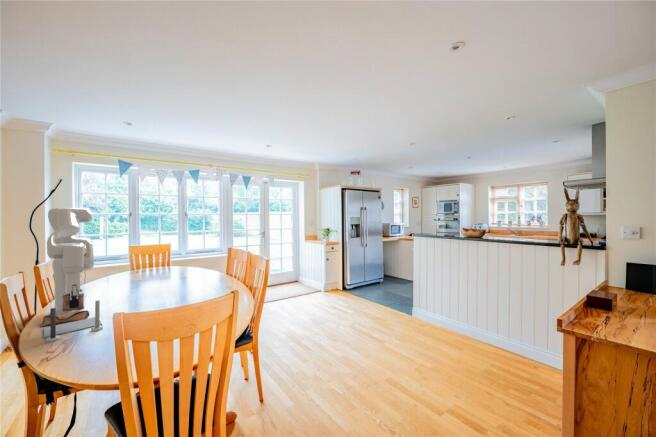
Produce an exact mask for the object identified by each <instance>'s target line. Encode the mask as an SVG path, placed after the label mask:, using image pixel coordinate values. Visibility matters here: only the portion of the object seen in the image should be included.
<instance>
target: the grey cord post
mask: <svg viewBox="0 0 656 437" xmlns="http://www.w3.org/2000/svg"><path fill="white" fill-rule="evenodd" d="M94 303H95V304H94V305H95V306H94V308H95V311H94V312H95V313H94V317H95V327H92V328H90V330H91V332H93V331H94V332H99V330H100V331H102V330H103V329H104V325H100V326H99V320H100V315H101V314H100V313H101V312H100V311H101V309H100V308H101V307H100V305H101V301H100V300H95V302H94Z"/></svg>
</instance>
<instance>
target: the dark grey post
mask: <svg viewBox="0 0 656 437" xmlns="http://www.w3.org/2000/svg"><path fill="white" fill-rule="evenodd" d="M49 315H50V326H49V327H50V337H48V338H45V343H53V342H57V341H59V340H60V339H61V335H56V308H55V307H52V308H50V313H49Z"/></svg>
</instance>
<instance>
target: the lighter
mask: <svg viewBox="0 0 656 437" xmlns="http://www.w3.org/2000/svg"><path fill="white" fill-rule="evenodd" d="M78 291H79V290H78ZM72 293H73V292H71V294H72ZM84 296H85V293H83V289H82V288H80V292H79V293H78V307H76V308H69V300H70V293H69V295H67V294H66V295H63V296H62V298H63V309H62V311H63V312H65V311H75V310H79V311H83V310H84V309H85V306H84V304H85V303H84V301H85V300H84V299H85V298H84Z"/></svg>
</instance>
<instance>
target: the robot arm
mask: <svg viewBox="0 0 656 437" xmlns="http://www.w3.org/2000/svg"><path fill="white" fill-rule="evenodd" d="M47 218H48V222H49V225H50V226H51V228H52V230H53V232H52V233H51V234H50V235H49V236H48V238H47V241H46V253H47V257H48V258H50V259H52V264H51V265H52V271H53V276H54V278H53V279H54V308H56V315H58V314H65V313H73V312H80V310H75V311H65V312H63V311H62V309H63V298H62V296H63V295H66V294H67V295H69V293H70V300H69V308H76V307H78V293H79V294H80V293H81V292H80V289H81V282H82V281H81V280H82V278H81V274H82V273H83V272H87V271H91V270H93V269H94V266H95V257H94V247H93V246H94V245H93V241H92V239H91V238H89V237H76V236H77V235H78V233H79V232H80V230H81V228H80V223H91V221H92V219H93V212H92V211H91V209H90V208H88V207H87V208H85V207H55V208H54V207H53V208H51V209H49V210H48V212H47ZM78 290H79V291H78ZM71 292H73V293H72V294H71Z"/></svg>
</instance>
